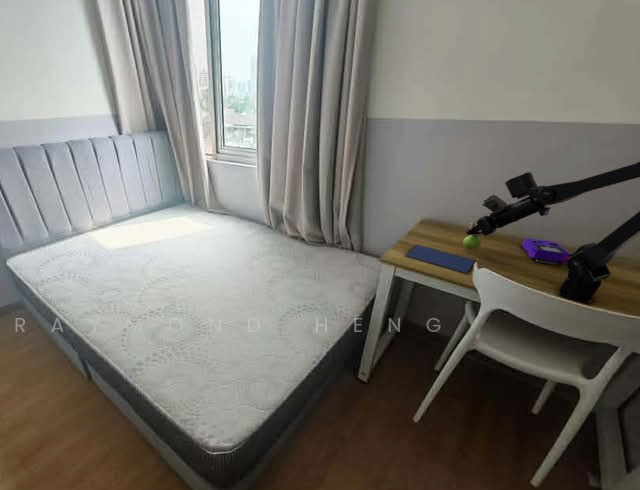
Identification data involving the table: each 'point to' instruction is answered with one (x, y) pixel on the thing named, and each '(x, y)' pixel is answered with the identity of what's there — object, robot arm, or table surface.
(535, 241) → the handheld gaming console
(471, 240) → the snail figurine
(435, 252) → the navy cloth
